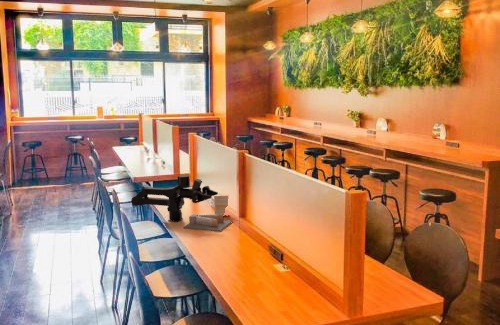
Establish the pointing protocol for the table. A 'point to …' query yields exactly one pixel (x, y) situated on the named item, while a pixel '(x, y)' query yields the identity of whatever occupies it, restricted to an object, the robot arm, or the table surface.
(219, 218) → the tong leg
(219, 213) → the supplement box
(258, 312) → the table surface
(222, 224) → the tong mat
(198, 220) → the tong leg
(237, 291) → the table surface
